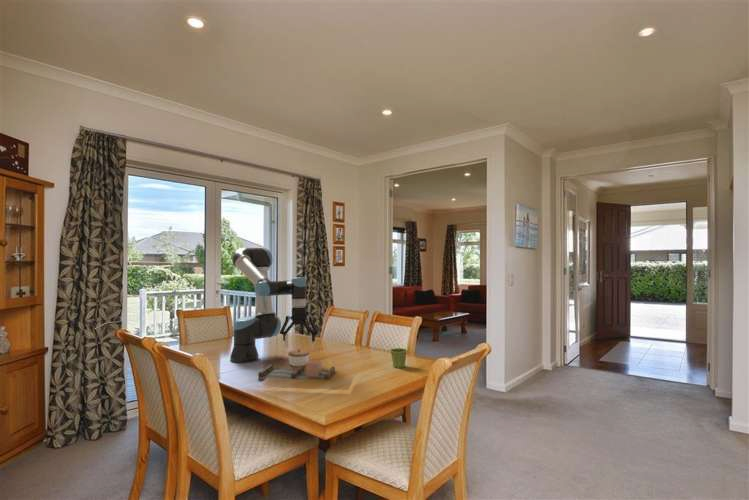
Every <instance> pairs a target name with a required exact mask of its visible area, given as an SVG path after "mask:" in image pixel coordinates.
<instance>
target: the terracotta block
mask: <svg viewBox="0 0 749 500" xmlns="http://www.w3.org/2000/svg"><path fill="white" fill-rule="evenodd" d="M305 370H306V376H319V375H320V374H321V370H322V360H316V359H315V360H313V359H308V362H307V363H306V365H305Z"/></svg>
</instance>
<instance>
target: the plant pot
mask: <svg viewBox="0 0 749 500" xmlns="http://www.w3.org/2000/svg"><path fill="white" fill-rule="evenodd" d="M389 352H390V355H391V361H392V367H393V368H396V369H403V368H406V367H405V366H406V358H407V354H408V352H409V351H408V349H406V348H399V347H398V348H396V347H395V348H391V349H389Z"/></svg>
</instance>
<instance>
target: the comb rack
mask: <svg viewBox="0 0 749 500" xmlns="http://www.w3.org/2000/svg"><path fill="white" fill-rule="evenodd" d="M304 367H305V365H304V366H298V367H297V368H296V369H294V368H293V369H287V368H274V365H273V364H269V365H267V366H266V367H265V368H263V369H262V370H260V371H259V372H258V373H257V376H258V377H257V378H258V379H257V380H258V381H265V380H266V379H271V378H272V379H293V380H294V379H297V380H321V381H322V380H325V381H326V380H327V381H328V380H329V379H330V378H331V376H332V375H333V374H334V372H335V370H336V367H335V366H331V367H330V368H329V369H328V370H324V369H323V370H322V369H321V374H320V375H319V376H306V369H304Z"/></svg>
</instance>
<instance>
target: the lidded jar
mask: <svg viewBox="0 0 749 500" xmlns="http://www.w3.org/2000/svg"><path fill="white" fill-rule="evenodd" d="M287 353H288V354H287V355H288V362H289V365H290V366H291V367H292V366H293V367H300V366H304V367H305V366H306V363H307V362H308V361H309V360H310V352H309V351H308V350H307V349H306V350H305V349H301V348H297V349H296V350H290V351H288V352H287Z"/></svg>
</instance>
